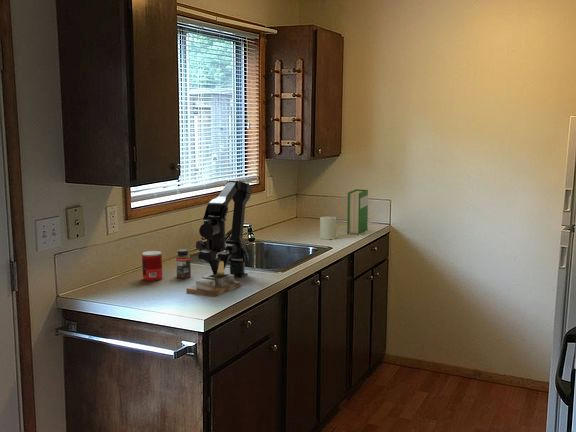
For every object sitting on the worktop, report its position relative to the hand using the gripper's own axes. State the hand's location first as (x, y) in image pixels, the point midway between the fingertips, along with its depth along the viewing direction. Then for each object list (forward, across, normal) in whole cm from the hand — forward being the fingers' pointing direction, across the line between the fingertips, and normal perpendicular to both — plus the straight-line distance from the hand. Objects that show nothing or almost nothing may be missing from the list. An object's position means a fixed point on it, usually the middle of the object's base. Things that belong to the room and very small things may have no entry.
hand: (218, 273), depth 248 cm
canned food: (+6, +2, -32) cm, 32 cm away
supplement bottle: (+6, -7, -22) cm, 24 cm away
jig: (+6, +3, 0) cm, 6 cm away
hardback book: (+6, -139, +2) cm, 139 cm away
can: (+6, -114, -5) cm, 114 cm away
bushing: (+3, 0, 0) cm, 3 cm away
